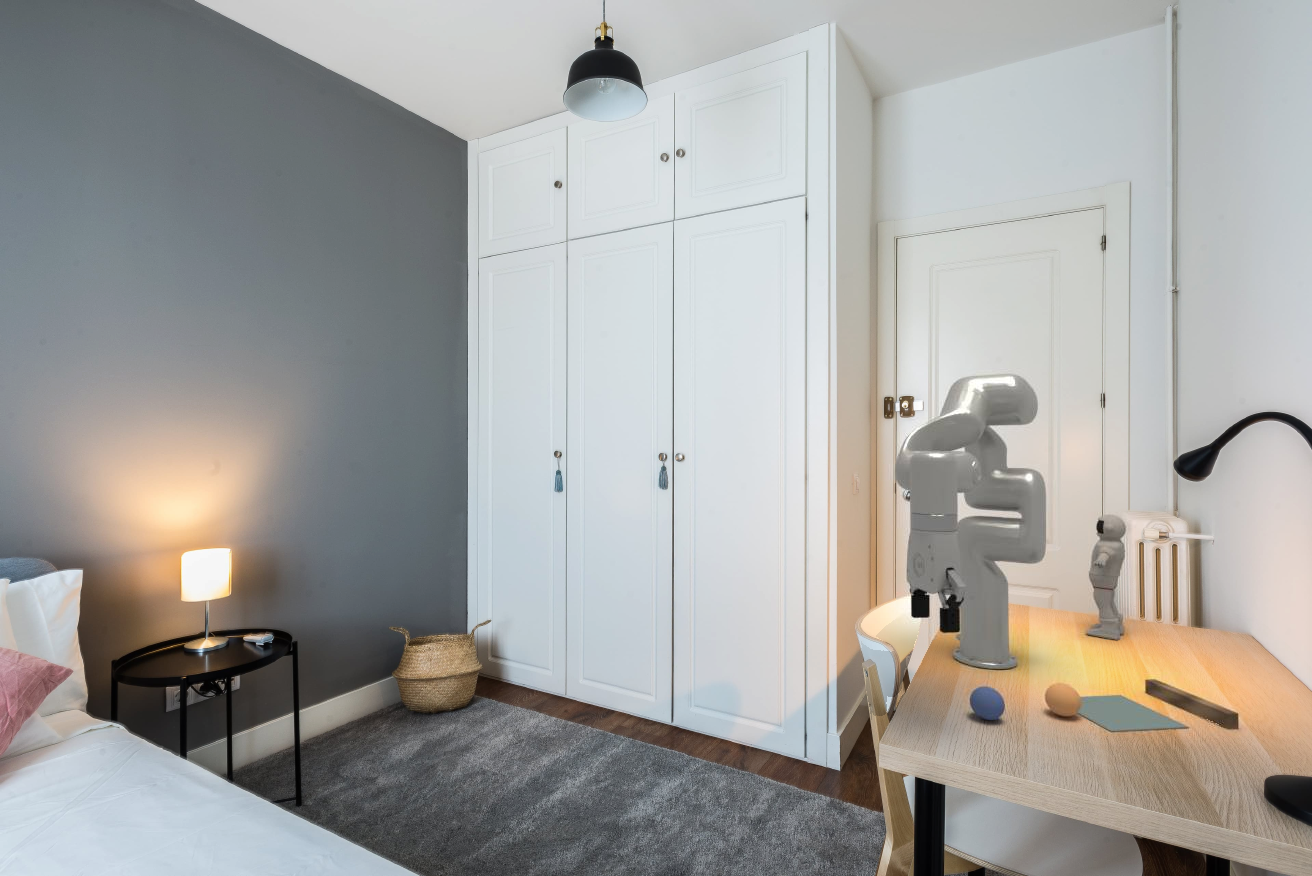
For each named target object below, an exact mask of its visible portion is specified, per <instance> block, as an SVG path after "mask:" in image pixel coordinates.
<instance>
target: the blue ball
mask: <svg viewBox="0 0 1312 876" xmlns="http://www.w3.org/2000/svg"><path fill="white" fill-rule="evenodd" d="M969 704H970V707H971V710H972V711H973V712H974V714H975V715H976V716H978V717H979V718H981V719H983V720H986V721H994V720H998V719H999V718H1000V717H1002V715H1003V714H1004V712H1005V708H1006V703H1005V700H1004V698H1003V696H1002V695H1001V693H1000V692H999V691H998V690H996V689H995V688H993V687H990V686H987V685H986V686H983V685H982V686H979V687H976V688H975V689H973V690H972V691H971V693H970V697H969Z"/></svg>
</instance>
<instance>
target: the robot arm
mask: <svg viewBox="0 0 1312 876" xmlns="http://www.w3.org/2000/svg"><path fill="white" fill-rule="evenodd" d="M1038 402H1039V401H1038V396H1037V393H1036V392H1035V390H1034V389H1033V387H1032V386H1031V385H1030V383H1029V382H1028V381H1027V380H1026V379H1025V378H1024V377H1022V376H1020V375H1017V374H1014V373H1000V374H999V373H997V374H984V375H983V374H982V375H970V376H965V377H962V378H959V379H957V380H956V381H955V382H953V384H952V385H951V386H950V388H949V390H948V392H947V394H946V398H945V401H944V403H943V406H942V408H941V411H940V414H939V416H937V417H934V418H933V419H931V420H930V421H929V420H928V421H927V422H925V423H924V424H922V425H920V426H919V427H917V428H916V429H914V430H913V431H912V432H911V433H909V434H908V435H907V436H906V437H905V440H904V441H903V443H902V445H901V447H900V449H899V453H898V454H897V457H896V460H895V466H894V477H895V481H896V483H897V484H898V486H899V487H900V488H902V489H903V490H905V491H909V506H910V507H909V515H910V516H909V520H910V521H909V522H910V524H909V526H910V531H909V535H908V541H907V551H906V552H907V554H906V583H908V584H909V593H910V600H911V601H910V616H911V618H913V619H926V618H929V617H930V615H931V613H930V611H931V610H930V608H931V607H930V604H931V603H930V594H931V595H935V594H937V596H938V598H939V601H940V604H941V606H942V607H939V632H940V633H942V634H950V633H951V634H952V633H953V634H955V633H957V634H955V639H956V640H958V641H959V647H956V648H954V649H953V651H952V656H953V658H954V659H955V660H956V659H957V661H958V662H960V663H962V664H966V665H969V666H972V667H976V668H984V669H991V670H993V669H994V670H1006V669H1012V668H1014V667H1017V665H1018V658H1017V657H1016V655H1014V654H1012V653H1010V635H1009V634H1010V630H1009V629H1010V626H1009V625H1010V623H1009V622H1010V621H1009V616H1010V615H1009V613H1010V612H1009V610H1010V609H1009V582H1008V579H1007V576H1006V575H1005V573H1004V572H1003V571H1002V569H1001V568H1000V567H999V565H997V563H996V562H1005V563H1016V564H1017V563H1018V564H1025V565H1026V564H1028V565H1029V564H1030V565H1032V564H1039V563H1040V562H1042V561H1043V559H1044V558H1045V555H1046V550H1047V549H1046V548H1047V489H1046V483H1045V480H1044V479H1045V478H1044V477H1043V475H1042V474H1041V472H1040V471H1038V470H1036V469H1033V468H1027V467H1008V463H1007V461H1008V460H1007V459H1008V448H1007V444H1006V442H1005V441H1004V440H1003V438H1002V437H1001V436H1000V434H999V433H997V432H996V431H995V429H993V428H992V427H991V426H996V427H997V426H1023V425H1028V424H1031V423H1032V422H1033V421H1034V420H1035V418H1036V417H1037V415H1038V410H1039V409H1038V407H1039V403H1038ZM963 448H964V451H963V450H962V451H959V450H960V449H963ZM958 494H963V497H964V500H965V503H966V505H967V506H968V507H970V508H971V509H976V510H981V511H983V510H984V511H994V512H995V511H997V512H1013V513H1014V512H1015V513H1019V515H1021V517H1020V518H1019V517H1004V516H1003V517H1002V516H994V515H993V516H991V515H970V516H965V517H963V518H961V519H960V520H959V521H958V516H959V515H958V511H959V510H958ZM947 596H949V597H948V598H947Z"/></svg>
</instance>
